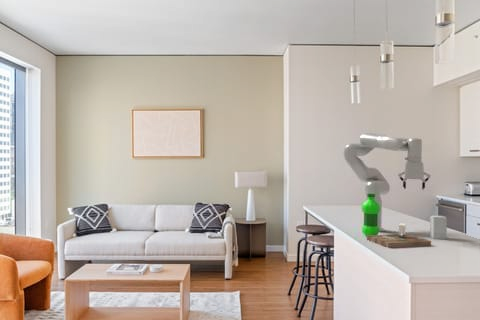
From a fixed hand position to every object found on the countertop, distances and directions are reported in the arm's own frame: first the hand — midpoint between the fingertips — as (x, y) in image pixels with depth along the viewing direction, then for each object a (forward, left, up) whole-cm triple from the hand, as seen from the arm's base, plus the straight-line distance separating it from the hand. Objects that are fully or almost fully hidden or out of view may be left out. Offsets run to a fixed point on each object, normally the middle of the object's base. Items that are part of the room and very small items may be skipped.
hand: (413, 189), depth 239 cm
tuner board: (+11, -18, -28) cm, 35 cm away
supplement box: (+4, +14, -28) cm, 32 cm away
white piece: (+11, -16, -25) cm, 32 cm away
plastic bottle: (-8, -23, -28) cm, 37 cm away
